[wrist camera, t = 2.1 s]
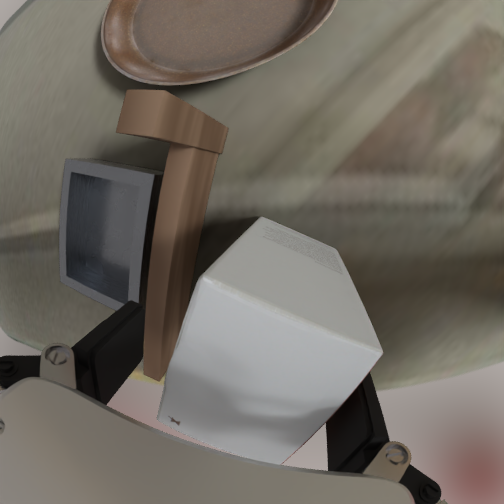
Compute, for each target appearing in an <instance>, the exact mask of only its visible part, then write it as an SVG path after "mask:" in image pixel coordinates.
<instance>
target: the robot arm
mask: <svg viewBox="0 0 504 504" xmlns="http://www.w3.org/2000/svg"><path fill="white" fill-rule="evenodd" d="M144 328H145V309H143V306H142V304H139V303H137V302H134V301H132V300H130V301H128V302H127V303H126V304H125V305H123V306H122V307H121V308H120V309H118V310H117V311H116V312H115V313H114V314H112V315H111V316H110V317H109V318H107V319H106V320H104V321H103V322H101V323H100V324H99V325H98V326H97V327H95V328H94V329H93V330H92V331H91V332H89V333H88V334H87V335H86V336H85V337H84V338H82V339H81V340H80V341H79V342H78V343H76V344H75V345H74V346H73V347H72V348H70V347H69V346H67V345H65V344H61V343H53V344H50V345H48V346H46V347H45V348H44V349H43V350H42V353H41V355H40V356H2V357H0V504H448V503H447V502H446V501H445V500H442V501H441V500H440V497H441V489H440V487H439V485H438V484H437V483H436V482H435V481H433V480H432V479H430V478H429V477H427V476H426V475H424V474H423V473H422V472H420V471H419V470H417V469H416V468H414V467H413V466H412V465H410V462H411V453H410V451H409V449H408V448H407V447H406V446H405V445H404V444H402V443H400V442H396V441H394V442H393V441H392V442H390V441H389V436H388V433H387V429H386V425H385V421H384V417H383V414H382V410H381V407H380V403H379V401H378V397H377V394H376V391H375V387H374V384H373V381H372V377H371V374H370V372H369V373H368V374H367V376H366V377H365V378H364V379H363V381H362V382H361V383H360V384H359V386H358V387H357V388H356V389H355V390H354V392H353V393H352V394H351V395H350V396H349V397H348V399H347V400H346V401H345V402H344V403H343V404H342V405H341V407H340V408H339V409H338V410H337V411H336V412H335V413H334V414H333V415H332V417H331V418H330V419H329V420H328V421H327V422H326V433H327V453H328V471H323V470H313V469H306V468H297V467H290V466H284V465H278V464H273V463H267V462H262V461H258V460H253V459H249V458H244V457H240V456H236V455H232V454H228V453H224V452H221V451H217V450H214V449H211V448H208V447H204V446H201V445H198V444H195V443H192V442H189V441H186V440H184V439H181V438H178V437H175V436H173V435H170V434H167V433H165V432H163V431H160V430H158V429H155V428H153V427H150V426H148V425H146V424H144V423H141V422H139V421H137V420H135V419H133V418H131V417H128V416H126V415H124V414H122V413H120V412H118V411H116V410H114V409H112V408H110V407H108V406H106V405H107V403H108V402H109V401H110V399H111V398H112V397H113V396H114V394H115V393H116V392H117V391H118V389H119V388H120V387H121V385H122V384H123V383H124V382H125V380H126V379H127V378H128V377H129V375H130V374H131V373H132V372H133V370H134V369H135V368H136V367H137V365H138V364H139V363H140V362H141V360H142V358H143V353H144Z"/></svg>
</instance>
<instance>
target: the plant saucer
mask: <svg viewBox="0 0 504 504" xmlns="http://www.w3.org/2000/svg"><path fill="white" fill-rule="evenodd" d="M337 1H338V0H110V2H109V4H108V6H107V8H106V11H105V14H104V17H103V21H102V26H101V42H102V47H103V50H104V53H105V55H106V57H107V59H108V61H109V62H110V63H111V65H112V66H113V67H114V68H115V69H117V70H118V71H119V72H120V73H122V74H123V75H125V76H127V77H129V78H131V79H133V80H136V81H139V82H143V83H148V84H155V85H187V84H196V83H202V82H207V81H212V80H216V79H220V78H224V77H228V76H231V75H235V74H238V73H241V72H244V71H246V70H249V69H252V68H254V67H257V66H259V65H261V64H264V63H266V62H268V61H271V60H273V59H275V58H277V57H278V56H280V55H282V54H284V53H286V52H287V51H289V50H291V49H292V48H294V47H296V46H297V45H299V44H300V43H302V42H303V41H304V40H306V39H307V38H308V37H309V36H311V35H312V34H313V33H314V32H315V31H316V30H317V29H319V28H320V27H321V25H322V24H323V23H324V22H325V21H326V20H327V18H328V17H329V16H330V14H331V13H332V11H333V10H334V8H335V6H336V4H337Z"/></svg>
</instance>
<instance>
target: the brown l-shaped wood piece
mask: <svg viewBox="0 0 504 504" xmlns="http://www.w3.org/2000/svg"><path fill="white" fill-rule="evenodd" d="M228 129H229V128H227V127H226V126H224V125H222V124H221V123H219V122H218V121H216V120H215V119H213V118H211V117H210V116H208V115H206V114H205V113H203V112H202V111H200V110H198V109H197V108H195V107H193V106H191V105H190V104H188V103H186V102H185V101H183V100H181V99H179V98H178V97H176V96H174V95H172V94H171V93H169V92H167V91H165V90H127V92H126V95H125V99H124V102H123V106H122V110H121V113H120V117H119V121H118V126H117V130H116V133H122V134H128V135H133V136H139V137H144V138H149V139H154V140H159V141H164V142H169V143H171V144H170V148H169V152H168V157H167V161H166V166H165V171H164V176H163V181H162V186H161V191H160V197H159V203H158V209H157V215H156V221H155V228H154V235H153V242H152V250H151V258H150V267H149V276H148V287H147V299H146V314H145V333H144V353H143V354H144V375H146V376H148V377H150V378H153V379H155V380H157V381H160V380H161V378H162V377H163V375H164V374H165V373H166V371H167V369H168V366H169V363H170V360H171V358H172V355H173V352H174V349H175V346H176V343H177V339H178V336H179V333H180V330H181V327H182V324H183V321H184V318H185V315H186V312H187V309H188V302H189V296H190V290H191V284H192V279H193V273H194V267H195V262H196V257H197V251H198V246H199V241H200V236H201V231H202V226H203V221H204V216H205V212H206V207H207V202H208V198H209V193H210V189H211V184H212V180H213V176H214V171H215V167H216V163H217V159H218V155H219V153H220V154H222V152H223V148H224V144H225V140H226V136H227V132H228Z"/></svg>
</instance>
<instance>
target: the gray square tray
mask: <svg viewBox="0 0 504 504" xmlns="http://www.w3.org/2000/svg"><path fill="white" fill-rule="evenodd" d="M163 176H164V172H163V171H158V170H153V169H148V168H143V167H138V166H132V165H127V164H121V163H115V162H110V161H104V160H97V159H66V161H65V168H64V175H63V184H62V194H61V207H60V228H59V262H60V282H62V283H63V284H65V285H67V286H69V287H71V288H73V289H74V290H76V291H78V292H80V293H82V294H84V295H86V296H88V297H90V298H92V299H93V300H95V301H97V302H99V303H101V304H103V305H106V306H108V307H110V308H112V309H114V310H116V311H117V310H118V309H120V308H121V307H122V306H123V305H125V304H126V303H127V302H128V301H130V300H132V301H134V302H137V303H139V304H142V306H143V309H145V313H146V299H147V287H148V276H149V267H150V258H151V250H152V242H153V235H154V228H155V221H156V215H157V209H158V203H159V197H160V191H161V186H162V181H163Z"/></svg>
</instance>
